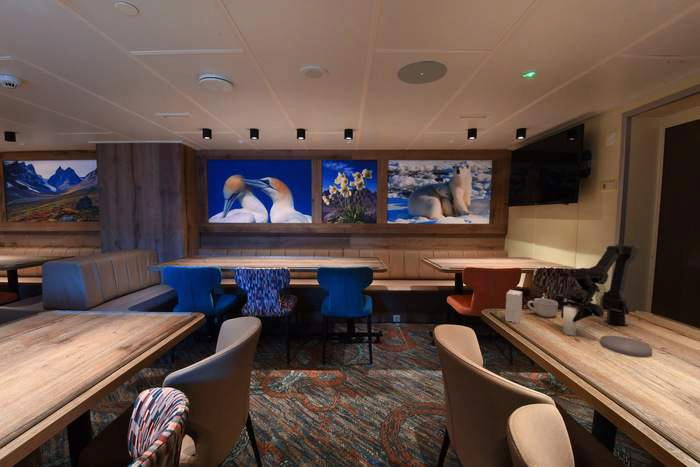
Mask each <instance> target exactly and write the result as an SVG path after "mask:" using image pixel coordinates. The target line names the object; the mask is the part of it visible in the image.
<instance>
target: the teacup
mask: <svg viewBox="0 0 700 467" xmlns="http://www.w3.org/2000/svg"><path fill="white" fill-rule="evenodd" d="M531 303H532V304H533V307H532V306H531ZM526 304H527V307H528V308H529V309H531V310H532V311H533V312H535V313H536V315H538V316H540V317H543V318H553V317H554V316H556V315H557V314H558V307H559V304H558V303H557V302H556V301H555V300H554V299H550V298H549V299H548V298H545V297H543V298H542V297H540V298H539V297H538V298H537V297H536V298H533V300H528V301H527V303H526Z"/></svg>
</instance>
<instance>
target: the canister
mask: <svg viewBox="0 0 700 467" xmlns="http://www.w3.org/2000/svg"><path fill="white" fill-rule="evenodd" d="M577 313H578V307H576V306H572V305H570V306H564V308H563V318H562V320H563V321H562V333H563V334H564V335H566V336H577V324H578V323H577V322H578V321H576V322H573V319H574V317H575V316H576V314H577Z"/></svg>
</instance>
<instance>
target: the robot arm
mask: <svg viewBox="0 0 700 467" xmlns="http://www.w3.org/2000/svg"><path fill="white" fill-rule="evenodd" d="M638 250H639V249H638V248H637V247H636V246H635V245H631V244H619V243H618V244H616V245H608V246H607V247H606V251H605V252H604V253H603V254H602V256H601V258H600V259H599V260H598V262H597V264H595V265H594V266H592V267H589V268H588V269H587V268H583V267H582V268H580V269H578V270H575V271H573V272H572V274H571V276H572V278H573V281H575V282H576V284H577V285H578V286H579V289H575V288H571V287H566V290H565V293H564V295H561V294H555V295H554V297H553V300H554V301H556V302H557V303H558V306H561V315H560V318H561V319H563V308H564V306H572V307H576V308H579V309H578V310H577V314H576V316H575V317H574V319H573V322H576V321H577V322H578V321H581V320H583V319H586V318H588V317H593V315H594V316H595V317H598V318H603V317H604V314H605V311H604V310H606V311H607V312H606V319H604V320H603V321H604V322H605V323H607V324H609V325H613V326H615V327H617V326H621V327H622V326H624V327H628V326H629V324H627V323H626V315H629V314H630V312H631V308H630V306H629V304H628V303H627V296H625V294H624V289H625V285H626V282H627V281H626V280H627V275H628V270H629V265H630V264H631V263H632V262H633V261H634V260H635V259H636V256H637V255H638ZM613 264H614V266H613ZM612 266H613V267H614V269H613V272H612V278H611V282H610V287H609V290H608V291H604V292H603V296H602V299H601V305H602V306H600V305H599V304H597V303H593V301H594V299H593V297H594V296H595V295H596V293H601V289H600V287H599V286H598V284H599V285H604V284H605V283H606V284H607V281H608V280H609V279H608V278H609V277H610V276H609V273H608V272H609V271H610V270H611V268H612ZM566 295H567V296H568V298H569V299H570V300H569V299H568V298H567V297H566Z"/></svg>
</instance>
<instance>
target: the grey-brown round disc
mask: <svg viewBox="0 0 700 467" xmlns="http://www.w3.org/2000/svg"><path fill="white" fill-rule="evenodd" d="M599 341H600V343H599V344H600V345H601V346H602V347H604V348H605V349H607V350H610V351H611V352H614V353H618V354H619V355H620V354H621V355H624V356H629V357H635V358H636V357H637V358H649V357H652V356H653V348H652V346H650V345H649V344H647V343H644V342H642V341H639V340H636V339H633V338H629V337H625V336H619V335H603V336H601V337H600V340H599Z"/></svg>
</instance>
